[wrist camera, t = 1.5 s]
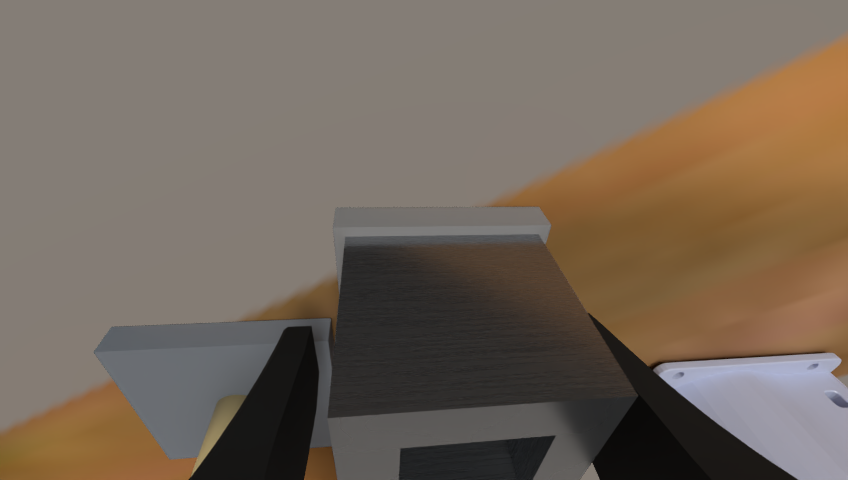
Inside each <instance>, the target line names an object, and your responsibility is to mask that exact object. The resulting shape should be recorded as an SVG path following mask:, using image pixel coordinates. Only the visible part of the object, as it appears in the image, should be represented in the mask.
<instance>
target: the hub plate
mask: <svg viewBox="0 0 848 480" xmlns="http://www.w3.org/2000/svg"><path fill="white" fill-rule="evenodd" d="M294 326H312V332H313V338H314V344H315V350H316V356H317V362H318V368H319V384H318V397H317V409H316V416H315V422H314V427H313V433H312V438H311V444H310V448H316V447H329V446H332V444H331V438H330V432H329V426H328V419H327V416H328V406H329V396H330V386H331V376H332V366H333V356H334V340H333V332H332V324H331V318H321V319H296V320H271V321H246V322H221V323H196V324H172V325H171V324H170V325H148V326H147V325H145V326H123V327H122V326H121V327H111V328H110V330H109V331H108V333H107V334H106V335H105V337H104V338H103V340H102V341H101V342H100V344H99V345H98V347H97V348H96V349H95V351H94V354H95V355H96V356H97V358H98V359H99V361H100V362H101V363H102V365H103V366H104V368H105V369H106V370H107V372H108V373H109V375H110V376H111V378H112V379H113V380H114V382H115V383H116V385H117V386H118V387H119V389H120V390H121V392H122V393H123V394H124V396H125V397H126V399H127V400H128V401H129V403H130V404H131V406H132V407H133V408H134V410H135V411H136V413H137V414H138V416H139V417H140V418H141V420H142V421H143V423H144V424H145V425H146V427H147V428H148V430H149V431H150V432H151V434H152V435H153V437H154V438H155V439H156V441H157V442H158V444H159V445H160V447H161V448H162V449H163V451H164V452H165V454H166V455H167V456H168V458H169V459H182V458H194V457H198V458H197V461H196V463H195V466H194V469H193V472H192V475H193V473H194V472H195V471H196V469H197V468H198V467H199V465H200V464H201V463H202V461H203V460H204V459H205V457H206V456H207V455H208V453H209V452H210V450H211V449H212V448H213V446H214V445H215V443H216V442H217V440H218V439H219V437H220V436H221V435H222V433H223V432H224V430H225V429H226V427H227V426H228V424H229V423H230V421H231V420H232V418H233V417H234V416H235V414H236V413H237V411H238V409H239V408H240V406H241V405H242V403H243V402H244V400H245V398H246V397H247V395H248V393H249V392H250V390H251V389H252V387H253V385H254V384H255V382H256V380H257V379H258V377H259V375H260V374H261V372H262V370H263V368H264V367H265V365H266V363H267V361H268V360H269V358H270V356H271V354H272V352H273V350H274V349H275V347H276V345H277V343H278V341H279V339H280V337H281V335H282V333H283V330H284V329H286V328H287V327H294ZM192 475H191V476H192Z"/></svg>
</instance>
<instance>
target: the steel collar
mask: <svg viewBox="0 0 848 480" xmlns="http://www.w3.org/2000/svg"><path fill="white" fill-rule="evenodd" d="M637 397H638V395H637V393H636V391H635V390H634V388H633V387H632V385H631V383H630V382H629V380H628V378H627V377H626V375H625V374H624V372H623V370H622V369H621V367H620V365H619V364H618V362H617V361H616V359H615V357H614V356H613V354H612V352H611V351H610V349H609V348H608V346H607V344H606V343H605V341H604V339H603V338H602V336H601V335H600V333H599V331H598V330H597V328H596V326H595V325H594V323H593V322H592V320H591V318H590V317H589V315H588V313H587V312H586V310H585V309H584V307H583V305H582V304H581V302H580V300H579V299H578V297H577V296H576V294H575V292H574V291H573V289H572V288H571V286H570V284H569V283H568V281H567V279H566V278H565V276H564V275H563V273H562V271H561V270H560V268H559V266H558V265H557V263H556V262H555V260H554V258H553V257H552V255H551V253H550V252H549V250H548V249H547V247H546V245H545V244H544V242H543V240H542V239H541V237H540V236H539V234H512V235H437V236H362V237H345V244H344V254H343V265H342V275H341V285H340V295H339V305H338V315H337V325H336V335H335V346H334V356H333V366H332V376H331V386H330V396H329V406H328V416H327V419H328V426H329V432H330V438H331V444H332V450H333V456H334V462H335V468H336V474H337V480H580V479H581V477H582V476H583V474H584V473H585V472H586V470H587V469H588V467H589V466H590V464H591V463H592V461H593V460H594V459H595V457H596V456H597V454H598V453H599V451H600V450H601V449H602V447H603V446H604V444H605V443H606V441H607V440H608V438H609V437H610V436H611V434H612V433H613V431H614V430H615V428H616V427H617V426H618V424H619V423H620V421H621V420H622V418H623V417H624V415H625V414H626V413H627V411H628V410H629V408H630V407H631V405H632V404H633V403H634V401H635V400H636V398H637Z"/></svg>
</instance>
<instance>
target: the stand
mask: <svg viewBox="0 0 848 480" xmlns="http://www.w3.org/2000/svg"><path fill="white" fill-rule="evenodd" d="M550 228H551V224H550V223H549V221H548V220H547V218H546V217H545V215H544V214H543V212H542V211H541V209H540V208H539V207H383V208H382V207H377V208H376V207H375V208H371V207H370V208H369V207H367V208H336V210H335V217H334V223H333V234H334V245H335V255H336V266H337V276H338V287H339V295H340V285H341V275H342V265H343V254H344V244H345V237H362V236H437V235H512V234H539V236H540V237H541V239H542V240H543V242H544V244H546V241H547V238H548V234H549V231H550Z"/></svg>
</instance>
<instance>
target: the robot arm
mask: <svg viewBox="0 0 848 480" xmlns="http://www.w3.org/2000/svg"><path fill="white" fill-rule="evenodd" d="M588 315H589V317H590V318H591V320H592V322H593V323H594V325H595V326H596V328H597V330H598V331H599V333H600V335H601V336H602V338H603V339H604V341H605V343H606V344H607V346H608V348H609V349H610V351H611V352H612V354H613V356H614V357H615V359H616V361H617V362H618V364H619V365H620V367H621V369H622V370H623V372H624V374H625V375H626V377H627V378H628V380H629V382H630V383H631V385H632V387H633V388H634V390H635V391H636V393H637V395H638V397H637V398H636V400H635V401H634V403H633V404H632V405H631V407H630V408H629V410H628V411H627V413H626V414H625V415H624V417H623V418H622V420H621V421H620V423H619V424H618V426H617V427H616V428H615V430H614V431H613V433H612V434H611V436H610V437H609V438H608V440H607V441H606V443H605V444H604V446H603V447H602V449H601V450H600V451H599V453H598V454H597V456H596V457H595V459H594V460H593V461H592V463H593V465H594V467H595V469H596V472H597V474H598V476H599V479H600V480H848V388H847V387H846V386H845V385H844V384H843V383H842V382H840V381H839V380H838V379H837V378H836V377H835V376H834V375H833V374H831V373H830V372H831V371H833V370H834V369H835V368H836V367H837V366H838V365H839V364H840V363H841V359H840V358H839V357H838V356H836V355H835V354H834V353H817V354H801V355H784V356H768V357H751V358H735V359H719V360H702V361H686V362H670V363H663V364H660V365H658V366H657V367H655V368H654V370H652V369H651V368H649V367H648V366H647V365H646V364H645V363H644V362H643V361H642V360H640V359H639V358H638V357H637V356H636V355H635V354H634V353H633V352H632V351H630V350H629V349H628V348H627V347H626V346H625V345H624V344H623V343H622V342H621V341H619V340H618V339H617V338H616V337H615V336H614V335H613V334H612V333H611V332H610V331H608V330H607V329H606V328H605V327H604V326H603V325H602V324H601V323H600V322H598V321H597V320H596V319H595V318H594V317H593V316H592V315H590V314H589V313H588ZM318 384H319V368H318V362H317V356H316V350H315V344H314V338H313V332H312V326H294V327H287V328H286V329H284V330H283V333H282V335H281V337H280V339H279V341H278V343H277V345H276V347H275V349H274V350H273V352H272V354H271V356H270V358H269V360H268V361H267V363H266V365H265V367H264V368H263V370H262V372H261V374H260V375H259V377H258V379H257V380H256V382H255V384H254V385H253V387H252V389H251V390H250V392H249V393H248V395H247V397H246V398H245V400H244V402H243V403H242V405H241V406H240V408H239V409H238V411H237V413H236V414H235V416H234V417H233V418H232V420H231V421H230V423H229V424H228V426H227V427H226V429H225V430H224V432H223V433H222V435H221V436H220V437H219V439H218V440H217V442H216V443H215V445H214V446H213V448H212V449H211V450H210V452H209V453H208V455H207V456H206V457H205V459H204V460H203V461H202V463H201V464H200V465H199V467H198V468H197V469H196V471H195V472H194V473H193V475H192V476H191V477H190V479H189V480H304V476H305V471H306V465H307V460H308V455H309V449H310V444H311V438H312V433H313V427H314V422H315V416H316V409H317V397H318Z"/></svg>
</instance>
